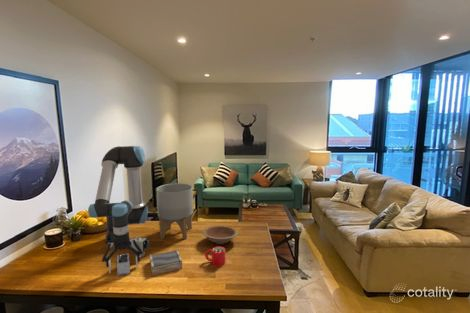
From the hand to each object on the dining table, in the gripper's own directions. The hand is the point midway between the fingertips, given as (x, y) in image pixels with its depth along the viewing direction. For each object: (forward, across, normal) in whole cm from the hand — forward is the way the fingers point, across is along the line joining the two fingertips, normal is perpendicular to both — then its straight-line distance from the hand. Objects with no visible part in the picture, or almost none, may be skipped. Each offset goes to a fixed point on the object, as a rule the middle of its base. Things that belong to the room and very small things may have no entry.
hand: (123, 269), depth 144 cm
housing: (+1, 0, 0) cm, 1 cm away
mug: (+1, +49, -12) cm, 50 cm away
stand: (+1, +22, -4) cm, 22 cm away
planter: (+1, +35, +35) cm, 50 cm away
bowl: (+1, +60, +11) cm, 61 cm away
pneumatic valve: (+1, +9, +13) cm, 16 cm away
